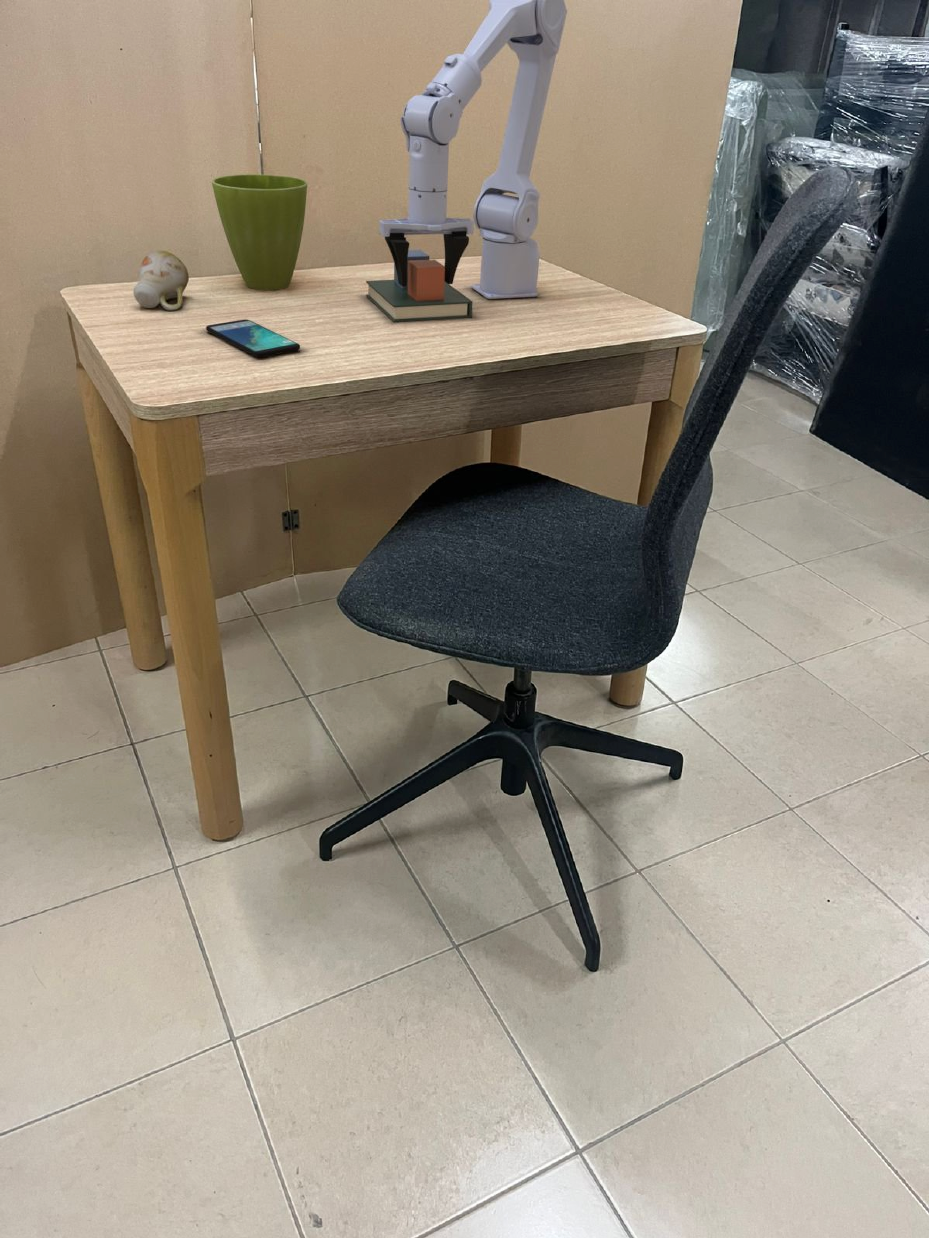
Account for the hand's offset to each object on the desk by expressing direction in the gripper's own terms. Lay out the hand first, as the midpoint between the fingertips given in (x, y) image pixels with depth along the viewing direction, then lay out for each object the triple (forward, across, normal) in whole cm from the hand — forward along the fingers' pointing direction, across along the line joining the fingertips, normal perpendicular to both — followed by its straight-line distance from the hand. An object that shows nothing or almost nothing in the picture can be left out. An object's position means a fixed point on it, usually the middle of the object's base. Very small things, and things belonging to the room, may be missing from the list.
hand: (425, 283), depth 142 cm
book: (+4, 0, +4) cm, 6 cm away
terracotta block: (+2, 0, 0) cm, 2 cm away
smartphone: (+4, -29, -9) cm, 31 cm away
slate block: (+2, 0, +7) cm, 7 cm away
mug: (+5, -39, +13) cm, 41 cm away
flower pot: (+5, -21, +21) cm, 30 cm away
